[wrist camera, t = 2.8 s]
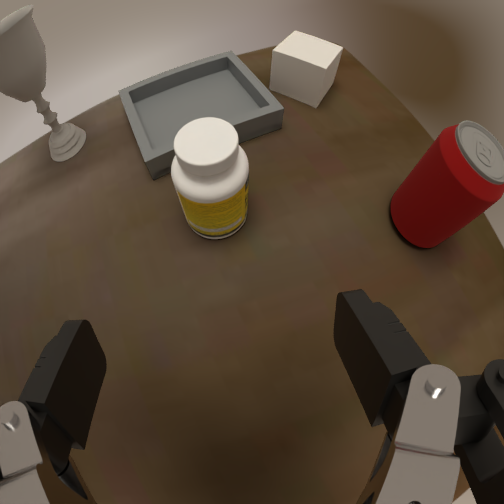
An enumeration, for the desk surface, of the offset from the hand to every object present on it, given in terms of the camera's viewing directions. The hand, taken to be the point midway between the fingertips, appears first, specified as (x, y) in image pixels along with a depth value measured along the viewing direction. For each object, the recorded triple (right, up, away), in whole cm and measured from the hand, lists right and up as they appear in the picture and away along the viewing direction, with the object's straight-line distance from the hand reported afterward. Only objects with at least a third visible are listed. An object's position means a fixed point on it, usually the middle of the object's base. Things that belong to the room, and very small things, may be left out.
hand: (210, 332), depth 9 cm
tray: (-5, +17, +21) cm, 28 cm away
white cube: (+7, +22, +24) cm, 33 cm away
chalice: (-20, +15, +20) cm, 32 cm away
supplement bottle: (-2, +6, +18) cm, 19 cm away
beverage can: (+17, +6, +18) cm, 26 cm away
